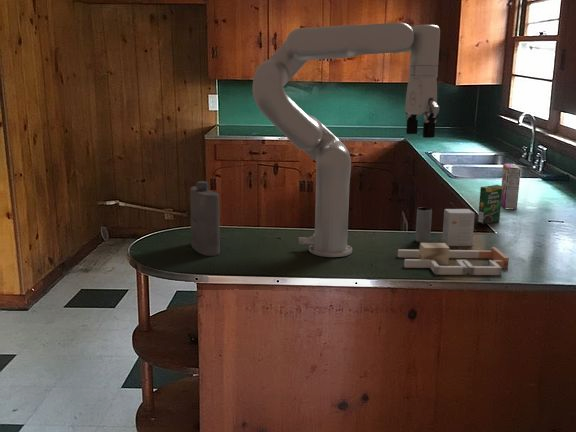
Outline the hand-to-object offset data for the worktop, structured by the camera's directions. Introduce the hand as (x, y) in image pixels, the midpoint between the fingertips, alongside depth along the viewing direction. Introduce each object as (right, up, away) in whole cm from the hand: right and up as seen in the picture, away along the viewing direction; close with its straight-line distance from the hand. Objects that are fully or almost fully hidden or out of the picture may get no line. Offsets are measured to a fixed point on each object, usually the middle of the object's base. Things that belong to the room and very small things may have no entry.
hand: (419, 135), depth 172 cm
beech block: (+4, -35, +1) cm, 36 cm away
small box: (+16, -31, +19) cm, 40 cm away
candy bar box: (+51, -19, +74) cm, 91 cm away
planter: (+6, -30, +22) cm, 38 cm away
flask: (-61, -32, +9) cm, 70 cm away
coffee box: (+34, -25, +47) cm, 63 cm away
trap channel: (+9, -36, -2) cm, 37 cm away
